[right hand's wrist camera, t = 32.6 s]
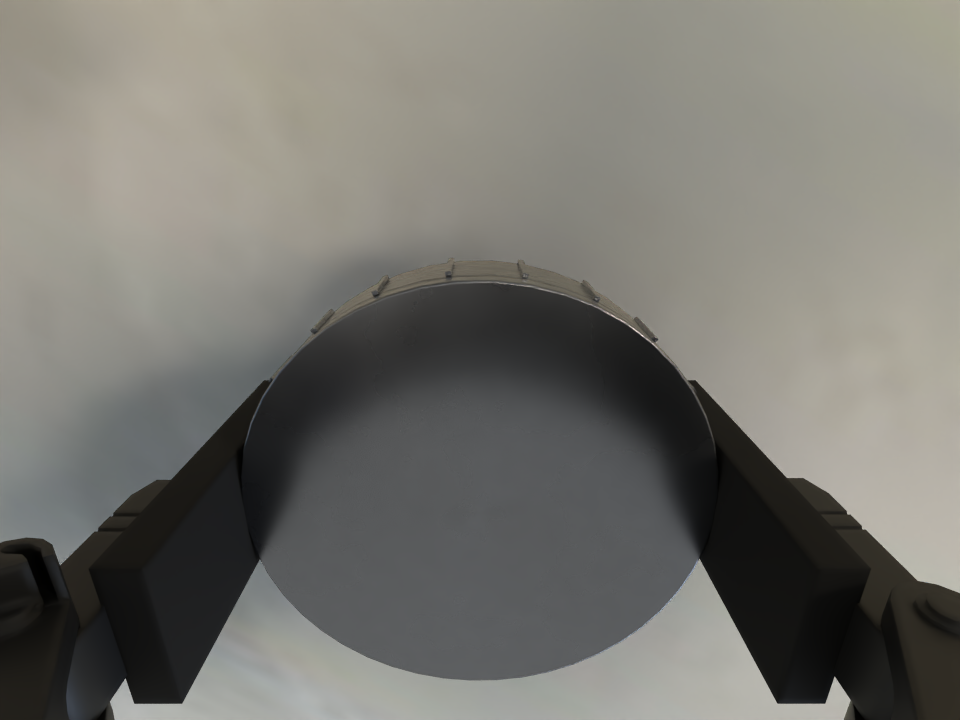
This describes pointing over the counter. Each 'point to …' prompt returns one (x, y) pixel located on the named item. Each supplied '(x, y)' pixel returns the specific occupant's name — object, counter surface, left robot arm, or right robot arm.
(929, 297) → the counter surface
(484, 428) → the lid
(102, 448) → the counter surface
